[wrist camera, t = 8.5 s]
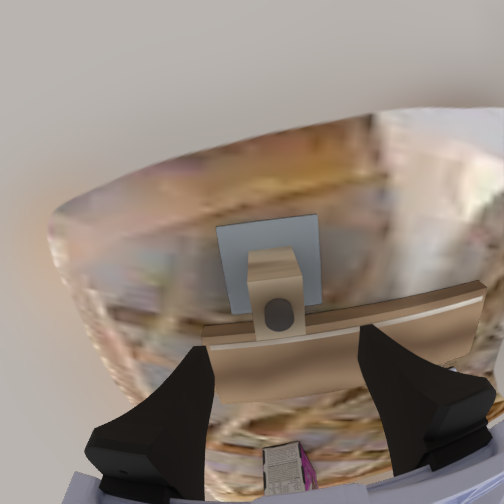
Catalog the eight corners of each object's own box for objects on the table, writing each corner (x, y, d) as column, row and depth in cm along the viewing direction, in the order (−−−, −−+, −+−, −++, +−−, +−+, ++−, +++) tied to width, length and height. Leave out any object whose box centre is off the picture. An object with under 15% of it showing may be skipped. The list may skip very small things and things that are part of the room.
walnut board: (461, 345, 25) (469, 353, 23) (222, 392, 26) (221, 404, 24) (478, 280, 22) (487, 287, 20) (204, 326, 23) (201, 338, 22)
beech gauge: (295, 295, 22) (308, 344, 16) (255, 300, 22) (256, 351, 16) (291, 245, 21) (305, 283, 15) (248, 251, 21) (246, 290, 15)
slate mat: (321, 301, 22) (322, 303, 22) (232, 312, 23) (232, 314, 22) (316, 213, 20) (317, 214, 20) (216, 226, 20) (215, 227, 20)
